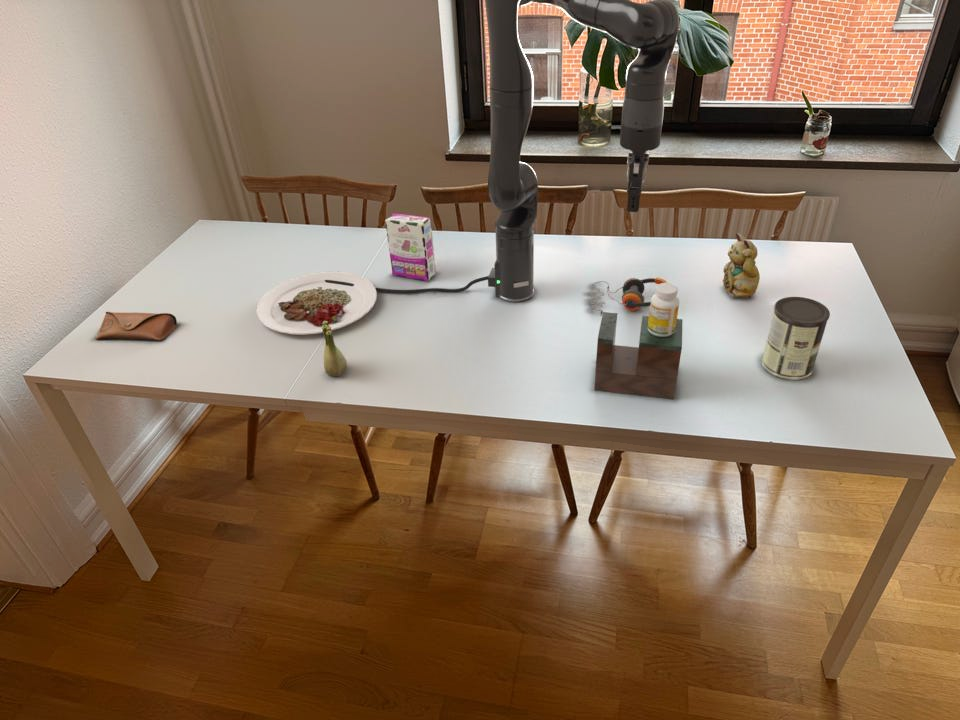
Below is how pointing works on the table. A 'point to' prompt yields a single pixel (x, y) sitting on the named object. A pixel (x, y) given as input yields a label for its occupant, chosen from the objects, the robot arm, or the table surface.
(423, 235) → the candy bar box
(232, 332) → the table surface
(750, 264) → the decorative figurine
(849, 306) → the table surface
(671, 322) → the supplement bottle
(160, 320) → the sunglasses case
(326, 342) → the fennel bulb
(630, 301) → the headphones
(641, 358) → the notched wooden block
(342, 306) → the plated food
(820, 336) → the coffee can
